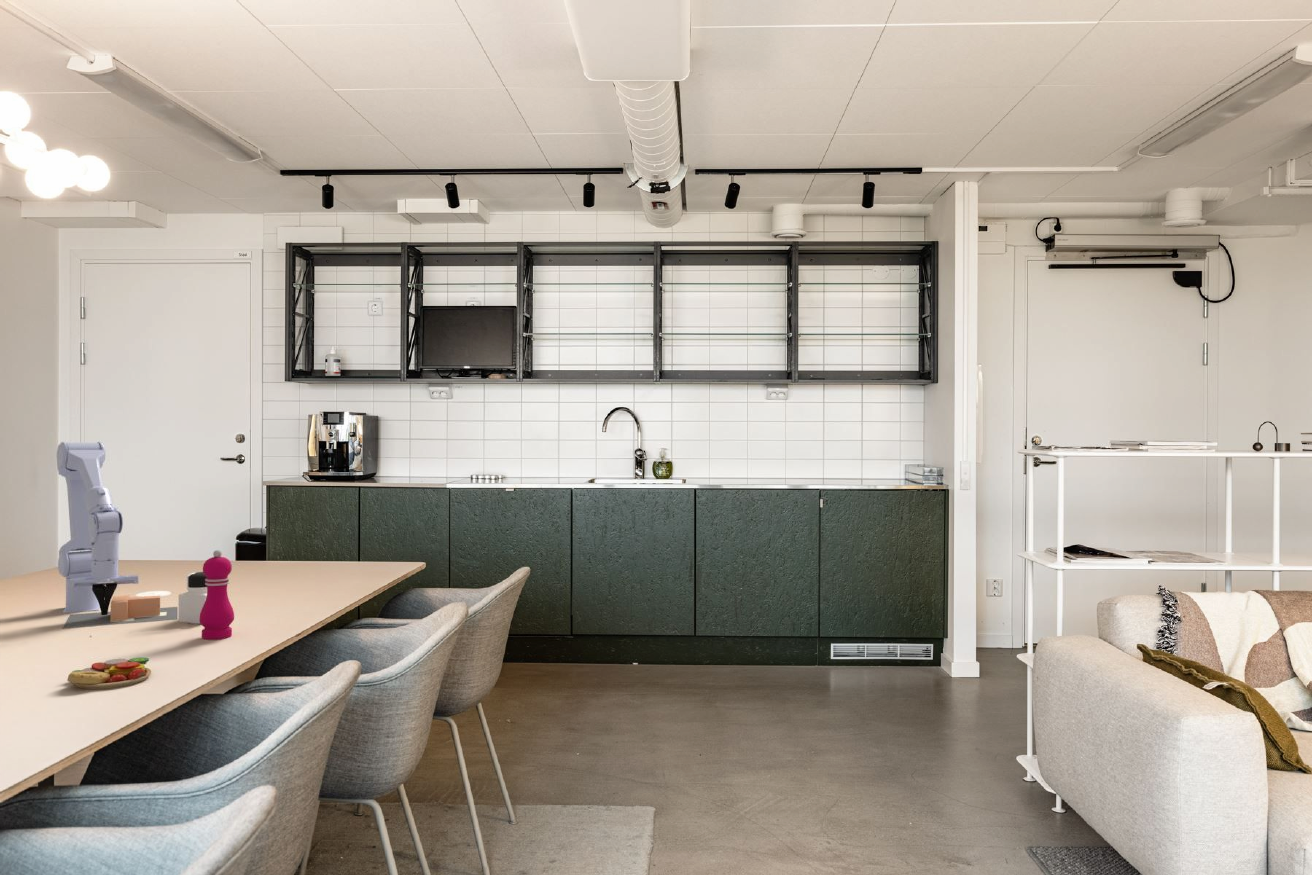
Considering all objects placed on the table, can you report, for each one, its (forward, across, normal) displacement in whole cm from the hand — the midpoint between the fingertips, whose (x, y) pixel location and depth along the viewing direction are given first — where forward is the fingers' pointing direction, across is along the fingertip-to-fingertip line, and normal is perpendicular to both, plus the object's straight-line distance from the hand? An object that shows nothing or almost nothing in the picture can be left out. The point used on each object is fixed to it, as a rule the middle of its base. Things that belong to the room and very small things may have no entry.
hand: (104, 614), depth 222 cm
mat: (+1, +4, 0) cm, 4 cm away
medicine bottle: (+2, +21, -11) cm, 24 cm away
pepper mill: (+2, +24, -32) cm, 40 cm away
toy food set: (+2, +5, -63) cm, 63 cm away
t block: (+1, +7, 0) cm, 7 cm away
